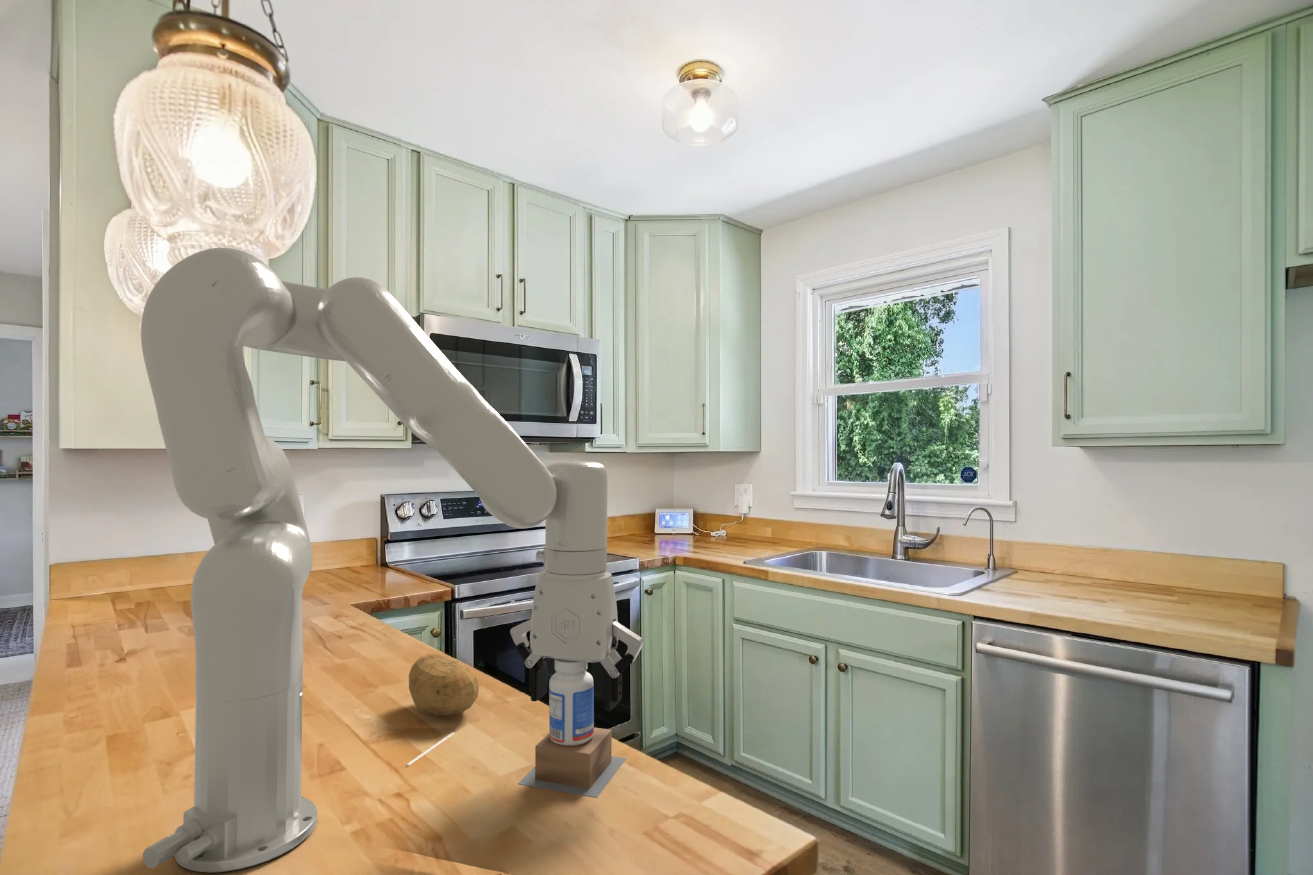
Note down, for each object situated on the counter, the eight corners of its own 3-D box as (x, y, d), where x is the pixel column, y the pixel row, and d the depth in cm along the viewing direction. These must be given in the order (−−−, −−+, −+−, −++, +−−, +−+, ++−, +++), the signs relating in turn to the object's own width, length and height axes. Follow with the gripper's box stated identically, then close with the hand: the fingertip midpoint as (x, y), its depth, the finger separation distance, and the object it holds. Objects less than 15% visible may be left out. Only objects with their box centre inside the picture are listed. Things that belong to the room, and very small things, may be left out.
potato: (432, 737, 94) (433, 679, 94) (394, 707, 104) (394, 655, 104) (496, 718, 100) (496, 664, 100) (453, 692, 111) (454, 643, 111)
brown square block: (589, 788, 78) (590, 753, 78) (535, 779, 80) (535, 745, 80) (611, 761, 85) (611, 729, 85) (560, 753, 87) (560, 722, 87)
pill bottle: (595, 727, 85) (595, 650, 85) (592, 747, 80) (593, 664, 80) (551, 728, 85) (552, 650, 85) (545, 747, 80) (546, 664, 80)
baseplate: (596, 806, 76) (596, 797, 76) (517, 792, 79) (517, 783, 79) (626, 766, 86) (626, 758, 86) (554, 754, 89) (554, 747, 89)
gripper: (497, 562, 82) (496, 704, 82) (632, 571, 77) (631, 723, 76) (527, 553, 89) (525, 684, 89) (652, 561, 84) (651, 699, 84)
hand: (574, 702), depth 83 cm, fingers open, 9 cm apart
